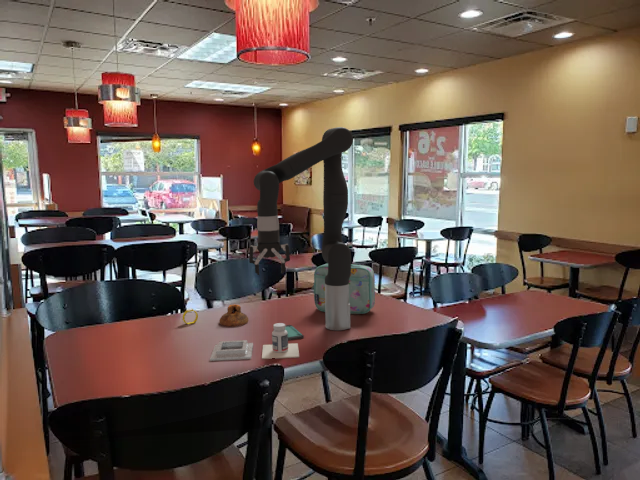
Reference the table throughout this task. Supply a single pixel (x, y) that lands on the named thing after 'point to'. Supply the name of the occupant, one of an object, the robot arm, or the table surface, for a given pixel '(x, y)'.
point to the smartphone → (293, 333)
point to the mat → (270, 354)
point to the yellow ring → (190, 311)
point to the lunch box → (358, 288)
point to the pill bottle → (279, 338)
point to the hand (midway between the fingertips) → (270, 273)
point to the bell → (233, 317)
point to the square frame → (232, 350)
